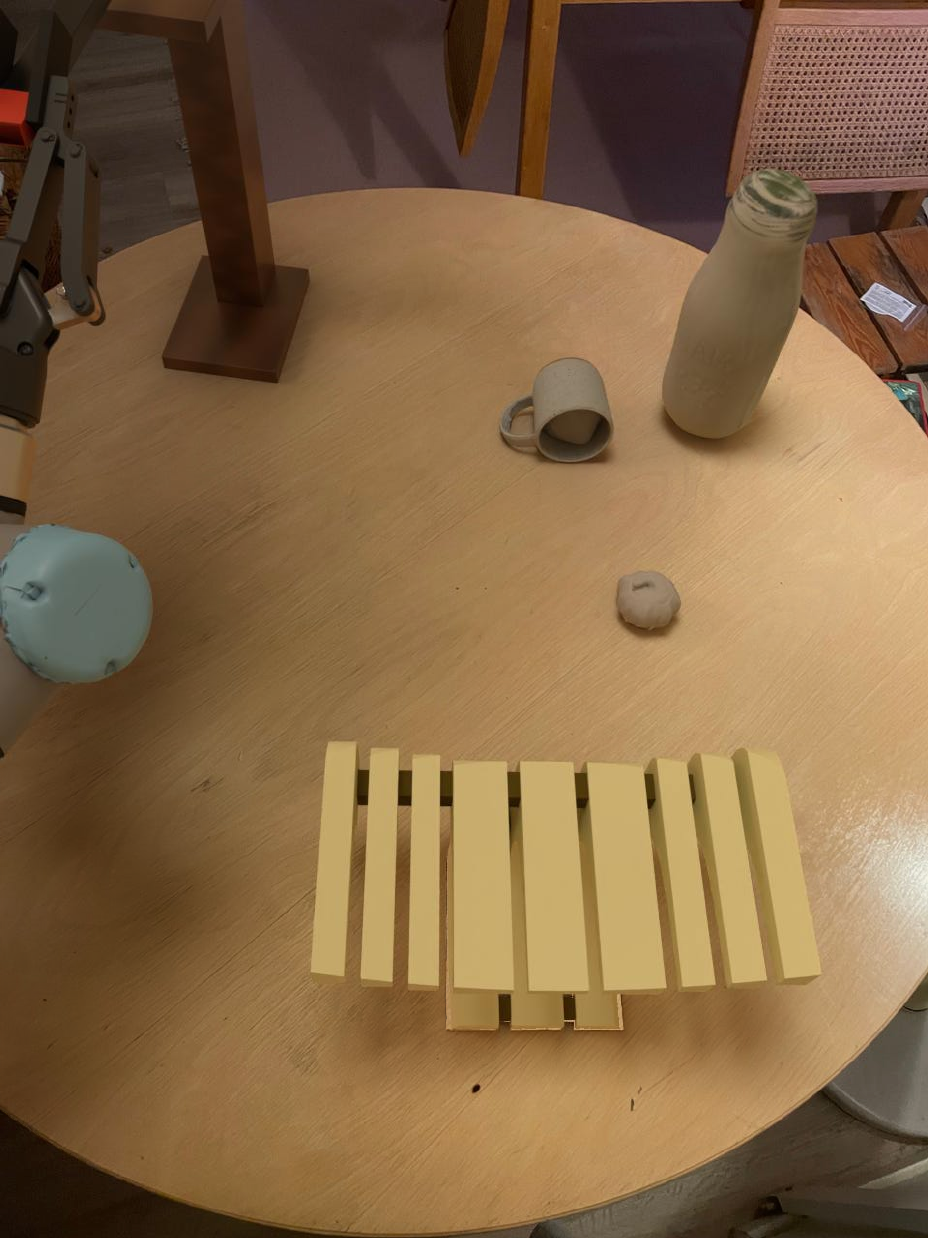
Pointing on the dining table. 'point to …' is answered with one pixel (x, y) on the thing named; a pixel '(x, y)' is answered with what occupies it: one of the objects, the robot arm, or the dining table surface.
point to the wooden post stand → (222, 194)
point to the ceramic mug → (564, 412)
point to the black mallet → (6, 104)
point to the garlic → (647, 599)
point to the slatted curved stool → (564, 880)
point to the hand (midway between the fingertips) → (29, 21)
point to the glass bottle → (740, 306)
